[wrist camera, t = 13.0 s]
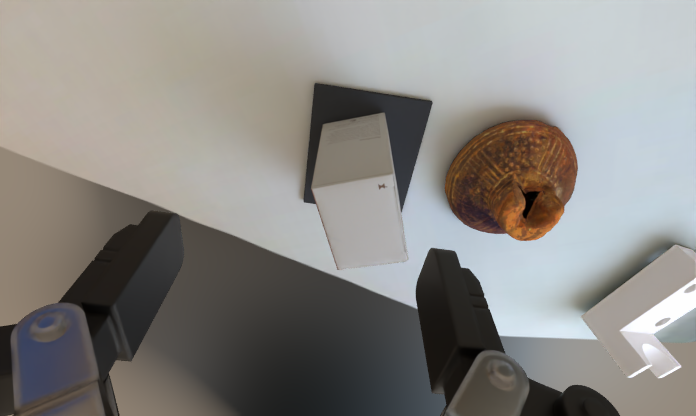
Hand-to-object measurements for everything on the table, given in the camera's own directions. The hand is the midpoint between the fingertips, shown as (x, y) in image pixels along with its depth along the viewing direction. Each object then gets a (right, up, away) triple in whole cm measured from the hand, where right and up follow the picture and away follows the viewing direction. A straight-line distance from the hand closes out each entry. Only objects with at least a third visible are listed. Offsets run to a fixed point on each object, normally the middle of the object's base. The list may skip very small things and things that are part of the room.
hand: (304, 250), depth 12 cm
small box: (+3, +6, +23) cm, 24 cm away
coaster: (+3, +6, +23) cm, 24 cm away
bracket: (+37, -8, +32) cm, 49 cm away
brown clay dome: (+17, +5, +24) cm, 29 cm away
